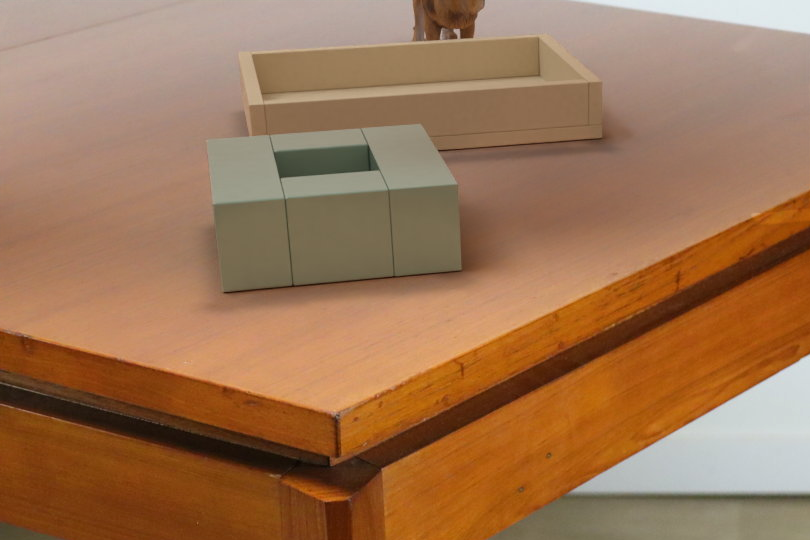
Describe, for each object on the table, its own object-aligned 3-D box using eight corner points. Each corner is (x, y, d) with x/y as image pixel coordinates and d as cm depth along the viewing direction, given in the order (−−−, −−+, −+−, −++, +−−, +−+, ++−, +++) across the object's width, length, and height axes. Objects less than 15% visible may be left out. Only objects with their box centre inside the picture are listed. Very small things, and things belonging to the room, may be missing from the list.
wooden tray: (254, 164, 83) (248, 104, 81) (243, 104, 95) (237, 52, 93) (602, 138, 87) (602, 81, 85) (549, 84, 99) (548, 33, 97)
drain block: (222, 292, 65) (212, 203, 63) (214, 218, 74) (205, 139, 72) (462, 270, 67) (458, 183, 65) (425, 201, 76) (421, 123, 75)
